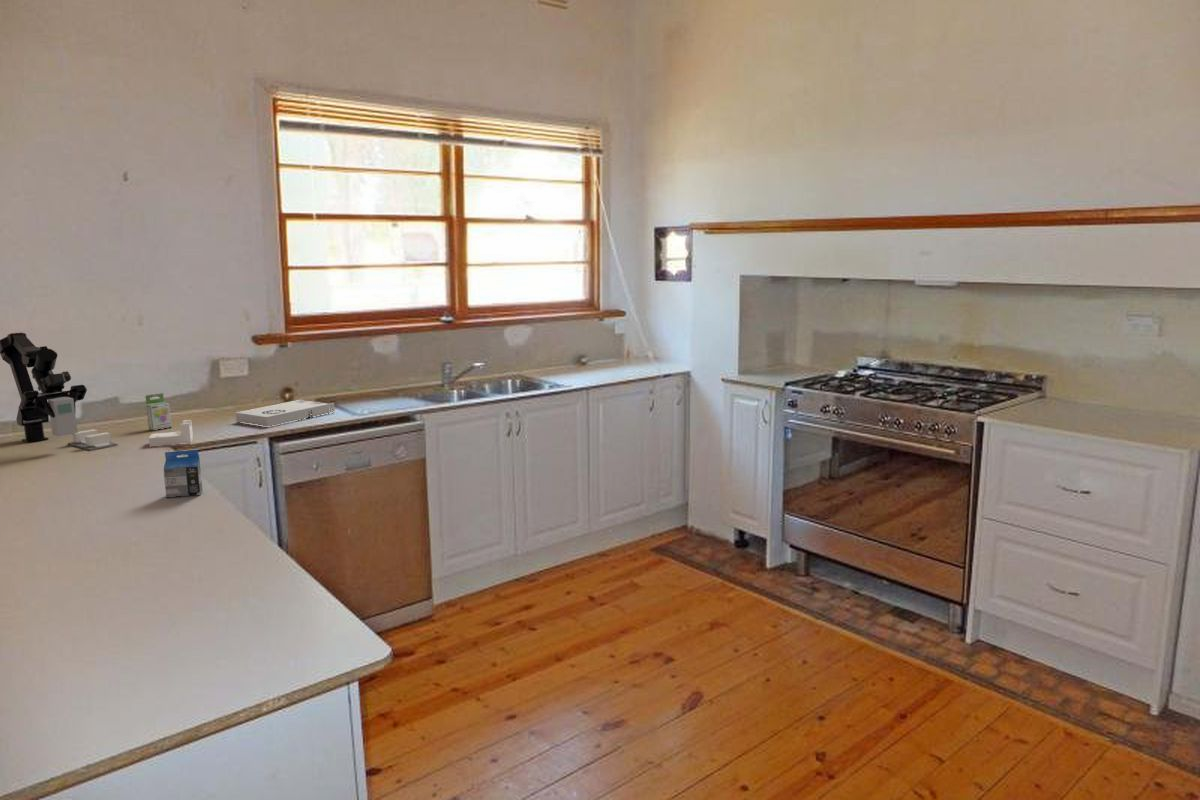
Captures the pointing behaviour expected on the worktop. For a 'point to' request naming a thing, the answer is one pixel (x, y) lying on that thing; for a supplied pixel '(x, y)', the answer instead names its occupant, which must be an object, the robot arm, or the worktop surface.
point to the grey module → (63, 416)
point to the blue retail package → (182, 474)
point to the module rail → (92, 440)
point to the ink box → (158, 412)
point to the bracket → (173, 436)
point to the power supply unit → (277, 414)
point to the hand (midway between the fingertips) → (64, 415)
